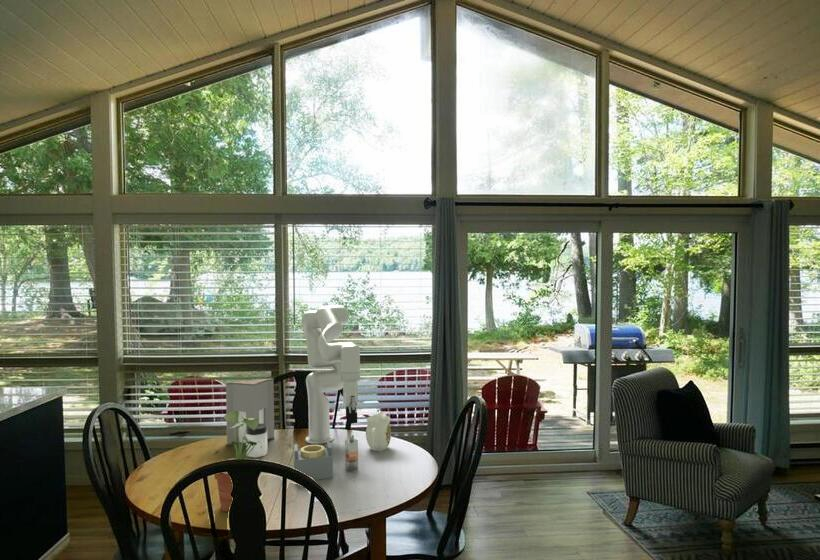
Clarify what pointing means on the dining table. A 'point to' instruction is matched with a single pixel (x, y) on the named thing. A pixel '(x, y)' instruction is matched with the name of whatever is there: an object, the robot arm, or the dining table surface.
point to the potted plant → (224, 478)
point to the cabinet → (250, 406)
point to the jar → (256, 436)
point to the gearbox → (314, 461)
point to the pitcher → (378, 432)
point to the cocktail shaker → (351, 454)
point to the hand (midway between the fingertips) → (351, 420)
